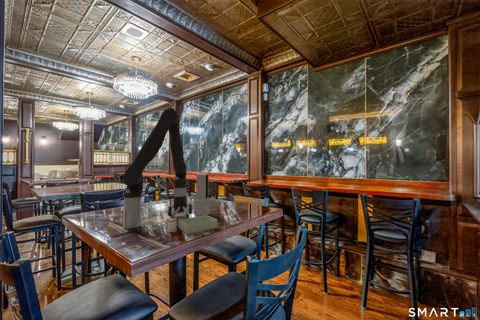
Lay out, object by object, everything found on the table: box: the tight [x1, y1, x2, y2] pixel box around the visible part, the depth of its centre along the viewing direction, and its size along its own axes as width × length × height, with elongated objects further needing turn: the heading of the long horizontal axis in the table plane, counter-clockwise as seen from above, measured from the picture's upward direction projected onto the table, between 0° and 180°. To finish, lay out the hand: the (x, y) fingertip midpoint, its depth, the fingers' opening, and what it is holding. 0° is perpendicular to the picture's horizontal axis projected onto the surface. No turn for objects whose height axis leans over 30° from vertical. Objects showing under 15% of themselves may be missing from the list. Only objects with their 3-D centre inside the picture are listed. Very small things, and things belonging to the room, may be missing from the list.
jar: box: [166, 217, 177, 233], centre depth 118 cm, size 5×5×7 cm
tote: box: [178, 215, 219, 235], centre depth 124 cm, size 18×13×5 cm
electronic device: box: [193, 173, 210, 217], centre depth 157 cm, size 12×8×30 cm, turn 168°
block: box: [174, 213, 187, 228], centre depth 131 cm, size 6×6×6 cm
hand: (180, 222), depth 131 cm, fingers open, 8 cm apart
